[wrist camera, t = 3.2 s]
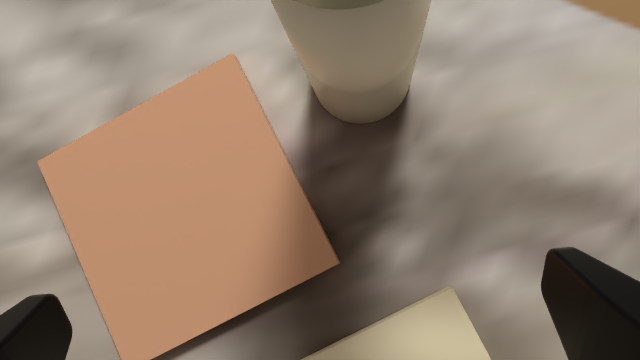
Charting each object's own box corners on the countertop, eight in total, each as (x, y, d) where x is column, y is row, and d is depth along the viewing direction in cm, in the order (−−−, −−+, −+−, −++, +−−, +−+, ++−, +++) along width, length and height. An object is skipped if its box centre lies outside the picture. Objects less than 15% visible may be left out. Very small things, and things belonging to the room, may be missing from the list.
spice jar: (431, 51, 21) (516, -204, 8) (383, 143, 21) (396, 27, 8) (339, 9, 22) (289, -287, 9) (292, 98, 22) (175, -74, 9)
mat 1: (340, 262, 21) (339, 263, 20) (133, 367, 22) (126, 371, 21) (236, 57, 22) (232, 53, 22) (45, 163, 23) (37, 161, 23)
